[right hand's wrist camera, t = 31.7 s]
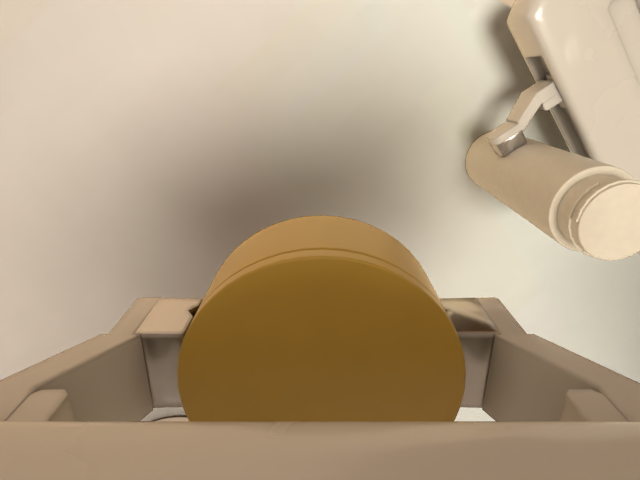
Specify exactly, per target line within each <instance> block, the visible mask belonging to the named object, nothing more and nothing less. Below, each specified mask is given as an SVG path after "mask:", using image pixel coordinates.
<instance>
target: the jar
mask: <svg viewBox="0 0 640 480" xmlns="http://www.w3.org/2000/svg"><path fill="white" fill-rule="evenodd" d="M488 133H490V132H488ZM488 133H486V134H484V135H482V136H480V137H479V138H478V139H477V140H476V141H474V143H473V144H472V145H471V147H470V148H469V150H468V153H467V156H466V170H467V173H468V175H469V177H470V178H471V179H472V180H473V182H475V183H476V184H478V185H479V186H480V187H482V188H483V189H484V190H486V191H487V192H489V193H490V194H491V195H493V196H494V197H496V198H497V199H498V200H500V201H501V202H503V203H504V204H505V205H507V206H508V207H509V208H511V209H512V210H514V211H515V212H516V213H518V214H519V215H521V216H522V217H523V218H525V219H526V220H528V221H529V222H530V223H532V224H533V225H535V226H536V227H537V228H539V229H540V230H541V231H543V232H544V233H546V234H547V235H548V236H550V237H551V238H553V239H554V240H555V241H557V242H558V243H560V244H561V245H562V246H564V247H566V248H568V249H571V250H575V251H581V252H582V253H584V254H586V255H589V256H591V257H595V258H598V259H601V260H619V259H623V258H626V257H629V256H631V255H633V254H635V253H637V252H639V251H640V181H636V180H635V179H634V178H633V177H632V176H631V175H630V174H629V173H628V172H626V171H624V170H623V169H620V168H618V167H615V166H612V165H609V164H605V163H602V162H599V161H596V160H593V159H590V158H587V157H584V156H581V155H578V154H574V153H571V152H568V151H565V150H562V149H559V148H556V147H553V146H550V145H546V144H543V143H540V142H537V141H534V140H531V139H528V138H526V140H527V143H526V144H524V145H523V146H521V147H519V148H514V150H513V152H511V153H510V154H509V155H506V156H504V157H501V156H499V155H496V154H495V152H494V151H493V149H492V147H491V146H490V144H489V142H488V140H487V138H486V135H487V134H488Z"/></svg>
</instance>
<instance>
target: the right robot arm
mask: <svg viewBox="0 0 640 480" xmlns="http://www.w3.org/2000/svg"><path fill="white" fill-rule="evenodd" d="M202 301H203V299H196V298H161V297H156V298H138V299H137V300H136V301H135V302H134V303H133V305H132V306H131V307H130V308H129V310H128V311H127V312H126V313H125V314H124V316H123V317H122V318H121V319H120V320H119V322H118V323H117V324H116V325H115V326H114V328H113V329H112V330H111V331H110V332H109V334H101V335H98V336H96V337H94V338H92V339H90V340H88V341H85V342H83V343H81V344H79V345H77V346H74V347H72V348H70V349H68V350H66V351H63V352H61V353H59V354H57V355H55V356H53V357H50V358H48V359H46V360H44V361H42V362H39V363H37V364H35V365H33V366H31V367H29V368H26V369H24V370H22V371H20V372H18V373H15V374H13V375H11V376H9V377H7V378H5V379H2V380H0V480H640V383H638V382H636V381H634V380H632V379H629V378H627V377H625V376H623V375H621V374H619V373H616V372H614V371H612V370H610V369H608V368H606V367H604V366H601V365H599V364H597V363H595V362H593V361H591V360H588V359H586V358H584V357H582V356H580V355H578V354H576V353H573V352H571V351H569V350H567V349H565V348H563V347H560V346H558V345H556V344H554V343H552V342H550V341H548V340H545V339H543V338H541V337H539V336H537V335H535V334H527V333H526V332H525V331H524V330H523V328H522V327H521V326H520V325H519V324H518V322H517V321H516V320H515V319H514V317H513V316H512V315H511V314H510V312H509V311H508V310H507V309H506V308H505V306H504V305H503V304H502V303H501V301H500V300H499V299H497V298H495V297H490V298H444V299H440V301H441V303H442V305H443V307H444V309H445V310H446V312H447V314H448V316H449V318H450V320H451V322H452V324H453V325H454V327H455V330H456V332H457V334H458V337H459V339H460V341H461V345H462V349H463V353H464V357H465V367H466V379H465V390H464V394H463V399H462V403H461V406H460V407H477V408H482V410H484V411H485V412H486V413H487V414H488V415H489V416H491V417H492V418H493V419H494V420H495V421H496V422H235V421H189V420H188V418H187V417H174V418H165V419H161V420H157V421H140V420H142V419H143V418H144V417H145V416H146V415H147V414H149V413H150V412H151V411H152V410H153V408H159V407H183V406H182V403H181V399H180V394H179V390H178V379H177V367H178V358H179V353H180V349H181V345H182V342H183V339H184V337H185V334H186V332H187V330H188V328H189V326H190V324H191V322H192V320H193V318H194V316H195V314H196V312H197V310H198V308H199V307H200V305H201V303H202Z"/></svg>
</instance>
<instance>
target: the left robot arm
mask: <svg viewBox="0 0 640 480" xmlns="http://www.w3.org/2000/svg"><path fill="white" fill-rule="evenodd" d="M507 25H508V28H509V29H510V31H511V33H512V35H513V37H514V39H515V42H516V44H517V46H518V48H519V50H520V52H521V54H522V56H523V58H524V60H525V62H526V64H527V66H528V68H529V70H530V72H531V74H532V76H533V78H534V80H535V82H536V83H535V84H533V85H532V86H530V87H529V88H527V89H526V90H524V91H523V92H521V94H520V96H519V98H518V100H517V101H516V103H515V105H514V107H513V109H512V110H511V112H510V114H509V116H508V117H507V121H506V122H505V123H503V124H502V125H500V126H499V127H497V128H496V129H494V130H493V131H491V132H490V133H488V134H487V135H486V138H487V140H488V142H489V144H490V146H491V147H492V149H493V151H494V152H495V154H496V155H499V156H501V157H504V156H506V155H509V154H510V153H511V152H513V150H514V148H519V147H521V146H523V145H524V144H526V143H527V140H526V138H525V136H524V134H523V131H524V130H525V128H526V127H527V125H528V124H529V122H530V121H531V119H532V118H533V116H534V114H535V113H536V111H537V110H538V109H540V110H546V111H548V110H550V112H551V114H552V116H553V118H554V120H555V122H556V124H557V126H558V128H559V130H560V132H561V134H562V136H563V138H564V140H565V142H566V144H567V146H568V148H569V150H570V152H571V153H574V154H578V155H581V156H584V157H587V158H590V159H593V160H596V161H599V162H602V163H605V164H609V165H612V166H615V167H618V168H620V169H623V170H624V171H626V172H628V173H629V174H630V175H631V176H632V177H633V178H634V179H635V180H636V181H640V0H516V1H515V2H514V4H513V6H512V8H511V11H510V13H509V16H508V19H507ZM637 253H638V254H640V251H639V252H637Z"/></svg>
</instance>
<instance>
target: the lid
mask: <svg viewBox="0 0 640 480" xmlns="http://www.w3.org/2000/svg"><path fill="white" fill-rule="evenodd" d="M177 379H178V390H179V394H180V399H181V403H182V406H183V408H184V411H185V413H186V416H187V418H188V420H189V421H235V422H454V420H455V418H456V416H457V413H458V411H459V408H460V406H461V403H462V399H463V394H464V390H465V379H466V367H465V357H464V353H463V349H462V345H461V341H460V339H459V337H458V334H457V332H456V330H455V327H454V325H453V324H452V322H451V320H450V318H449V316H448V314H447V312H446V310H445V309H444V307H443V305H442V303H441V301H440V299H439V297H438V295H437V294H436V292H435V290H434V288H433V286H432V284H431V282H430V280H429V279H428V277H427V275H426V273H425V271H424V270H423V268H422V267H421V265H420V263H419V262H418V261H417V259H416V258H415V257H414V256H413V255H412V254H411V252H410V251H409V250H408V249H407V248H405V247H404V246H403V245H402V244H401V243H400V242H399V241H398V240H396V239H395V238H393V237H392V236H390V235H389V234H387V233H386V232H384V231H382V230H380V229H378V228H376V227H374V226H371V225H369V224H366V223H363V222H360V221H357V220H353V219H348V218H343V217H337V216H323V215H321V216H305V217H300V218H294V219H289V220H286V221H283V222H280V223H276V224H274V225H271V226H269V227H267V228H265V229H263V230H261V231H259V232H257V233H256V234H254V235H253V236H251V237H249V238H248V239H246V240H245V241H244V242H243V243H242V244H241V245H239V246H238V247H237V248H236V249H235V250H234V251H233V252H232V253H231V254H230V255H229V257H228V258H227V259H226V260H225V261H224V263H223V265H222V266H221V268H220V269H219V271H218V272H217V274H216V276H215V278H214V280H213V282H212V284H211V286H210V287H209V289H208V291H207V293H206V295H205V297H204V299H203V301H202V303H201V305H200V307H199V308H198V310H197V312H196V314H195V316H194V318H193V320H192V322H191V324H190V326H189V328H188V330H187V332H186V334H185V337H184V339H183V342H182V345H181V349H180V353H179V358H178V367H177Z"/></svg>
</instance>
